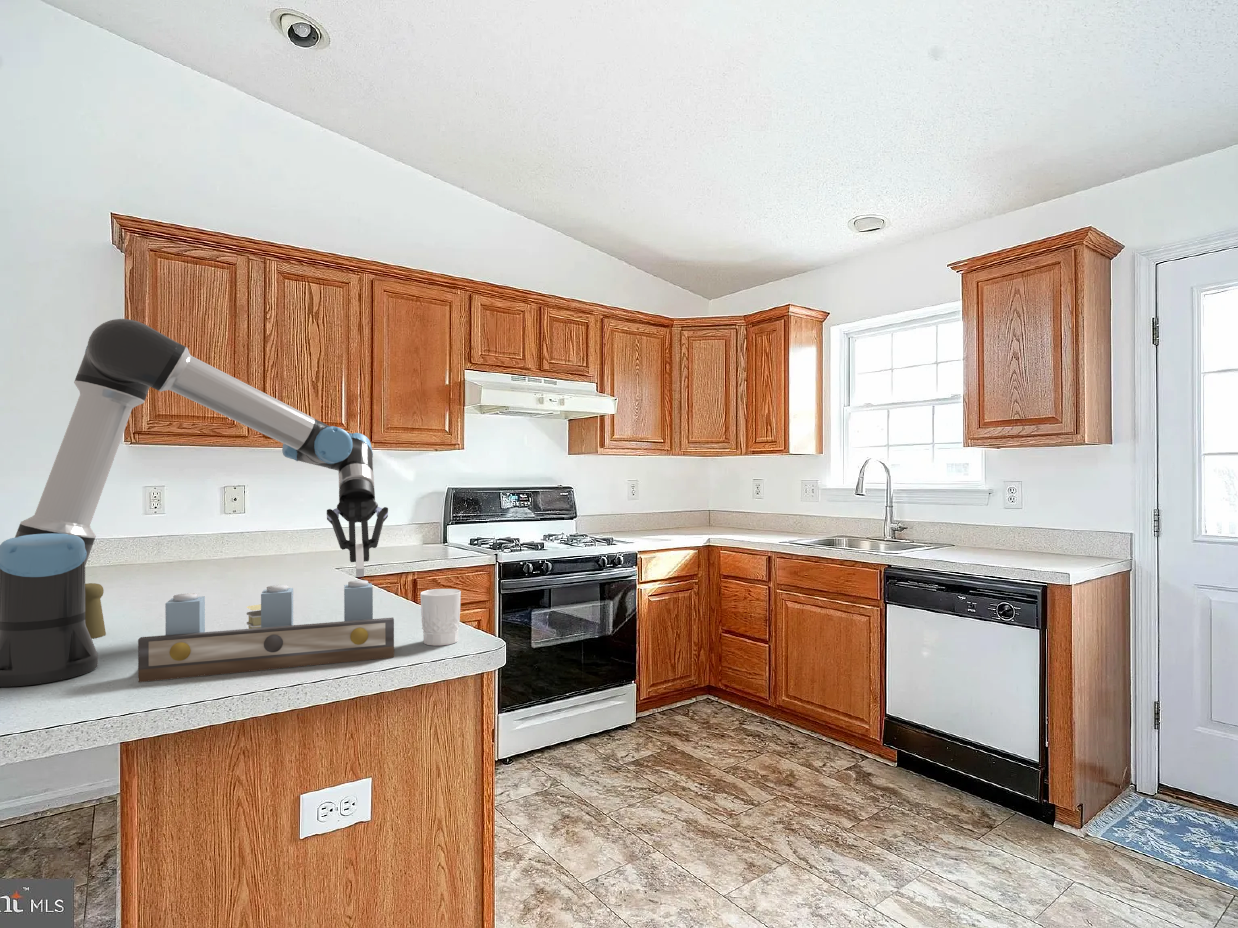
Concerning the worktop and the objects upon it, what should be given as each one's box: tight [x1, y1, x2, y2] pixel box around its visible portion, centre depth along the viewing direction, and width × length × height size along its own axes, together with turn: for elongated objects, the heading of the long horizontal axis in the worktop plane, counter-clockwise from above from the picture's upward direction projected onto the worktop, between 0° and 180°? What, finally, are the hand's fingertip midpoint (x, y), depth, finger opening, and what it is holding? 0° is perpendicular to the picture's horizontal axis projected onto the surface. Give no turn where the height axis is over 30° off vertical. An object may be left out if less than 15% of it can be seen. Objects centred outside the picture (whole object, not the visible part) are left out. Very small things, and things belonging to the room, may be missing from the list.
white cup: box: [420, 588, 462, 647], centre depth 143 cm, size 8×8×10 cm
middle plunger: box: [260, 584, 294, 628], centre depth 131 cm, size 5×5×11 cm
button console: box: [137, 617, 395, 683], centre depth 130 cm, size 13×40×7 cm, turn 111°
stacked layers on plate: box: [246, 603, 261, 629], centre depth 154 cm, size 10×9×6 cm
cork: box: [85, 582, 107, 639], centre depth 149 cm, size 6×6×11 cm
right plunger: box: [343, 579, 374, 621], centre depth 136 cm, size 5×5×11 cm
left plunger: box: [164, 592, 206, 635], centre depth 123 cm, size 5×5×11 cm
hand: (360, 572), depth 145 cm, fingers closed
